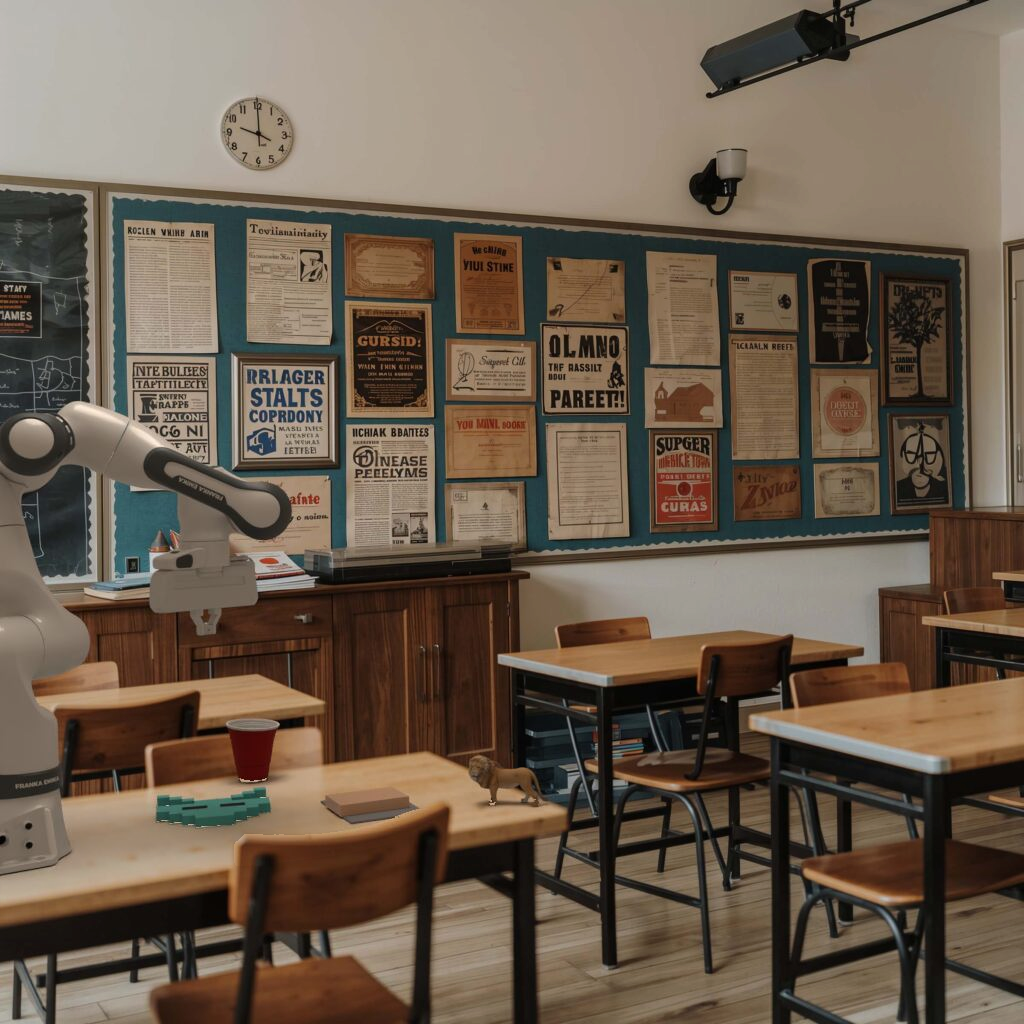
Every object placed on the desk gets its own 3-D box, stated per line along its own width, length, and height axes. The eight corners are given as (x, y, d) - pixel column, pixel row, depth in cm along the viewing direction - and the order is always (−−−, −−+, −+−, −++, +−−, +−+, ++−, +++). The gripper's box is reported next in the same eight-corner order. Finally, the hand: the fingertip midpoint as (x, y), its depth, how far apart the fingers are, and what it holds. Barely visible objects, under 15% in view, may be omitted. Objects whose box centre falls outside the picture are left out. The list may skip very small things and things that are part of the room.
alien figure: (157, 807, 231) (155, 834, 212) (157, 795, 231) (155, 821, 212) (265, 798, 237) (273, 823, 217) (265, 786, 237) (273, 811, 217)
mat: (351, 824, 214) (351, 822, 214) (320, 802, 230) (320, 800, 230) (425, 813, 220) (425, 811, 220) (391, 793, 237) (390, 791, 237)
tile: (340, 805, 218) (409, 796, 224) (325, 795, 226) (391, 786, 232) (340, 817, 218) (409, 807, 224) (325, 806, 226) (392, 797, 232)
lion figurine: (467, 808, 224) (466, 758, 224) (470, 800, 229) (469, 752, 229) (548, 807, 223) (547, 757, 223) (549, 800, 228) (548, 751, 228)
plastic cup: (267, 787, 244) (266, 726, 244) (217, 785, 246) (216, 725, 246) (289, 775, 255) (288, 717, 254) (241, 773, 257) (239, 716, 257)
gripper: (244, 554, 229) (246, 628, 229) (143, 559, 214) (145, 639, 214) (263, 554, 224) (265, 630, 224) (162, 560, 210) (164, 641, 210)
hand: (206, 634), depth 219 cm, fingers closed
